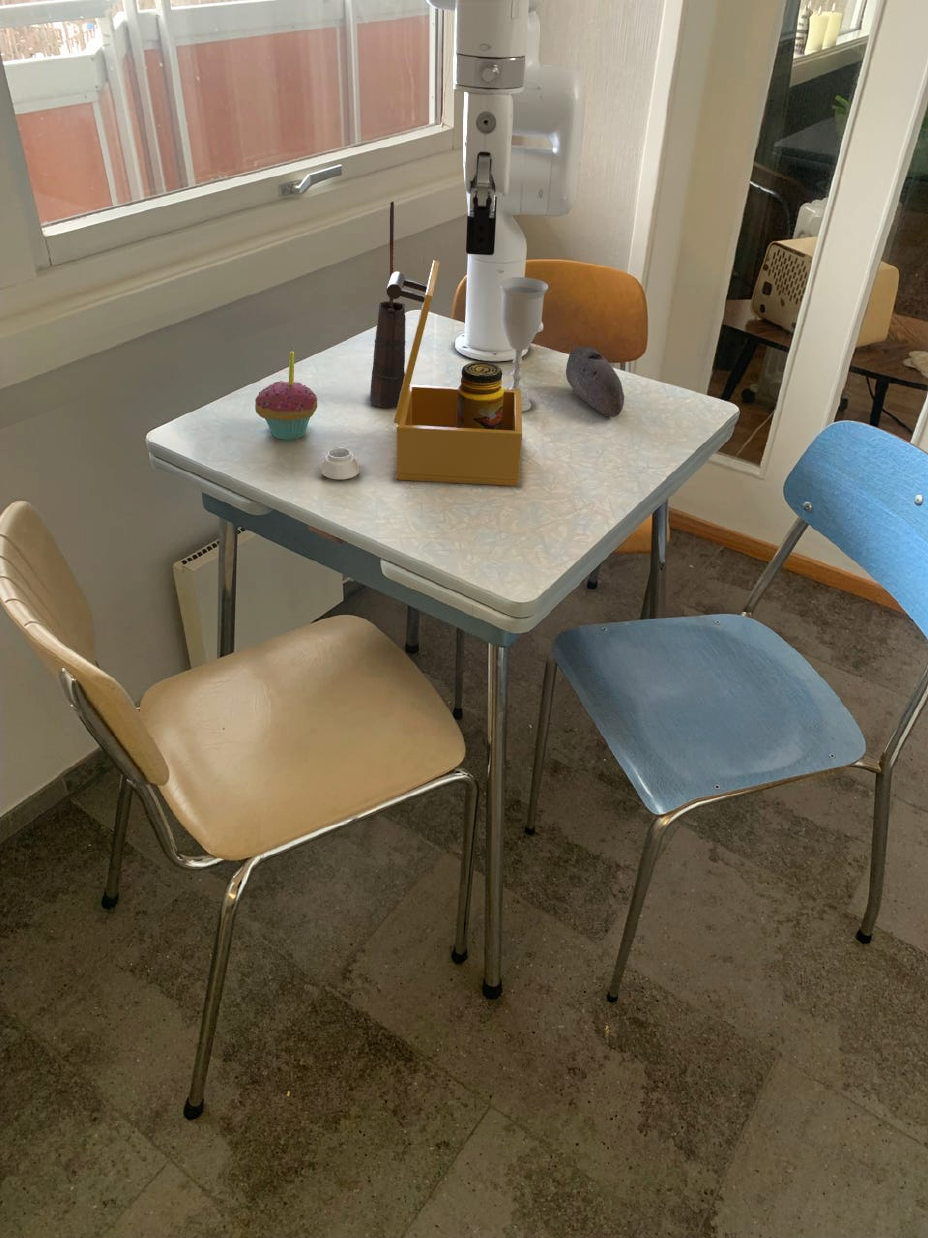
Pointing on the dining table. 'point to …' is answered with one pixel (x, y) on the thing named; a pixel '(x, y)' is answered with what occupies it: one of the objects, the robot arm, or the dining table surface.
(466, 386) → the condiment
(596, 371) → the perforated stone tool
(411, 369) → the lid
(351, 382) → the dining table surface
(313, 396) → the cupcake
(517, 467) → the open wooden box
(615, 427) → the dining table surface
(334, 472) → the white jar
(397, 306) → the butter churn
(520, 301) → the chalice
